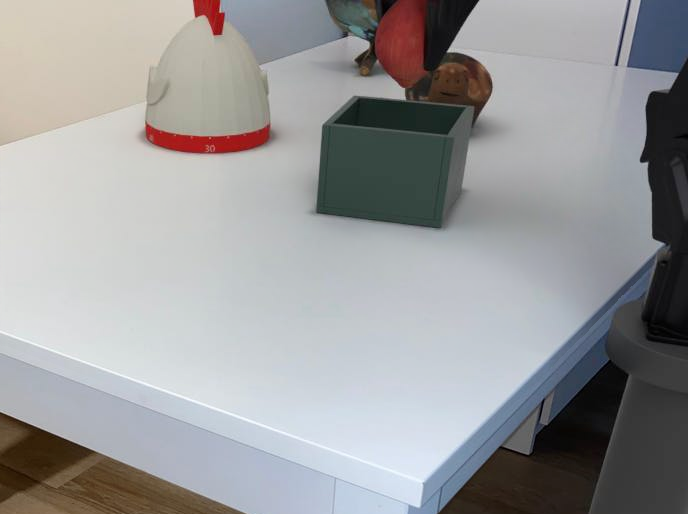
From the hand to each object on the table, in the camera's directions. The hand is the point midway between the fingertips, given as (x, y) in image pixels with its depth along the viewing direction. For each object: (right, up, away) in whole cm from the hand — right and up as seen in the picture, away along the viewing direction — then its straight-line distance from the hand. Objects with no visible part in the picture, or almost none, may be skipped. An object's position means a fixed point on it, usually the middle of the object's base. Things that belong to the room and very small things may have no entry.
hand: (408, 62), depth 84 cm
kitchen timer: (-17, +5, +27) cm, 33 cm away
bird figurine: (+6, +26, +54) cm, 60 cm away
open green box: (0, -8, +9) cm, 13 cm away
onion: (0, -2, +1) cm, 2 cm away
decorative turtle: (+10, +8, +30) cm, 33 cm away
